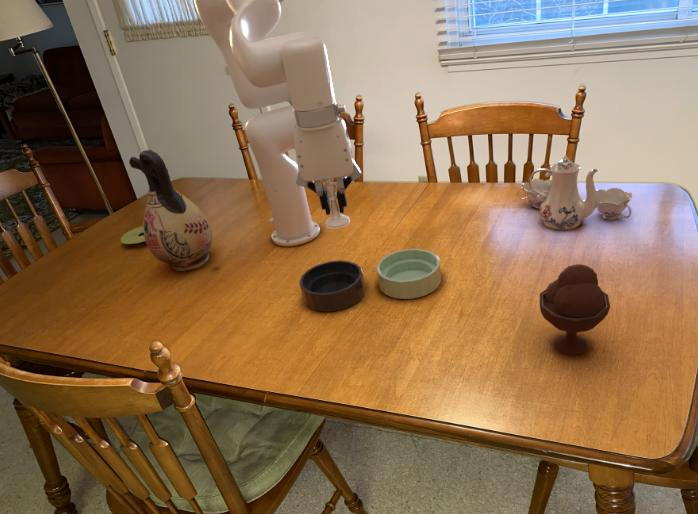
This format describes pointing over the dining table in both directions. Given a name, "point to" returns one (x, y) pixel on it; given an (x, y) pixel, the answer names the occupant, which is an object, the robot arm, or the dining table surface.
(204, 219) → the ceramic jug
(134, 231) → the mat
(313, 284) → the dark bowl
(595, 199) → the chinaware
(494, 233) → the dining table surface
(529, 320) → the dining table surface
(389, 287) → the green bowl
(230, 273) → the dining table surface
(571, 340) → the ice cream bowl
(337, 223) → the chess piece
